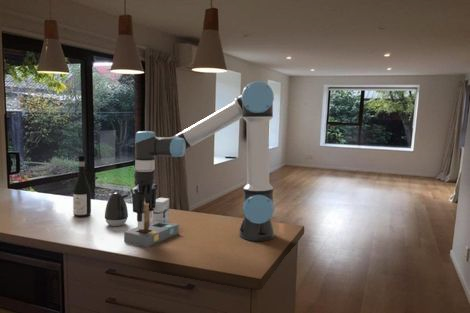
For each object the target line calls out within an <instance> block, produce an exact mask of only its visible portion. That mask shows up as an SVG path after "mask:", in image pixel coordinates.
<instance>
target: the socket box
mask: <svg viewBox="0 0 470 313" xmlns="http://www.w3.org/2000/svg"><path fill="white" fill-rule="evenodd" d="M123 234H124V235H123V236H124V237H123V239H124V240H123V242H124V243H128V244H133V245H136V246H141V247H145V248H149V247H151V246H154V245H156V244H158V243H161V242H162V241H165V240H167V239H169V238H171V237H174V236H176V235H178V234H179V224H178V223H173V222H172V223H171V222H163V221H158V220H156V221H153V220H152V221H151V227H149V232H148V233H146V234H143V233H140V229H138V226H137V227H134V228H131V229H129V230H125V231H124V233H123Z"/></svg>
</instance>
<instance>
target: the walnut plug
mask: <svg viewBox="0 0 470 313" xmlns="http://www.w3.org/2000/svg"><path fill="white" fill-rule="evenodd" d="M143 213H144V229H143V230H142V229H140V233H143V234H146V233H148V232H149V203H148V202H145V201H144V207H143Z"/></svg>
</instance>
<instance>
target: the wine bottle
mask: <svg viewBox="0 0 470 313" xmlns="http://www.w3.org/2000/svg"><path fill="white" fill-rule="evenodd" d="M77 158H78V159H77V160H78V176H77V179H76V182H75V185H74V187H73V192H72V204H73V205H72V208H73V211H72V212H73V216H74V217H75V218H86V217H89V216H90V215H91V214H92V191H91V187H90V184H89V183H88V180H87V178H86V170H85V167H86V166H85V162H86V161H85V160H86V156H85V155H81V154H80V155H78V156H77Z"/></svg>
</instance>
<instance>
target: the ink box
mask: <svg viewBox="0 0 470 313" xmlns="http://www.w3.org/2000/svg"><path fill="white" fill-rule="evenodd" d="M169 208H170V198H168V197H167V198H166V197H159V198H156V204H155V208H153V209H154V211H152V222H153V221H156V220H158V221H163V222H168V223H170V222H169V221H170V209H169Z"/></svg>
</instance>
